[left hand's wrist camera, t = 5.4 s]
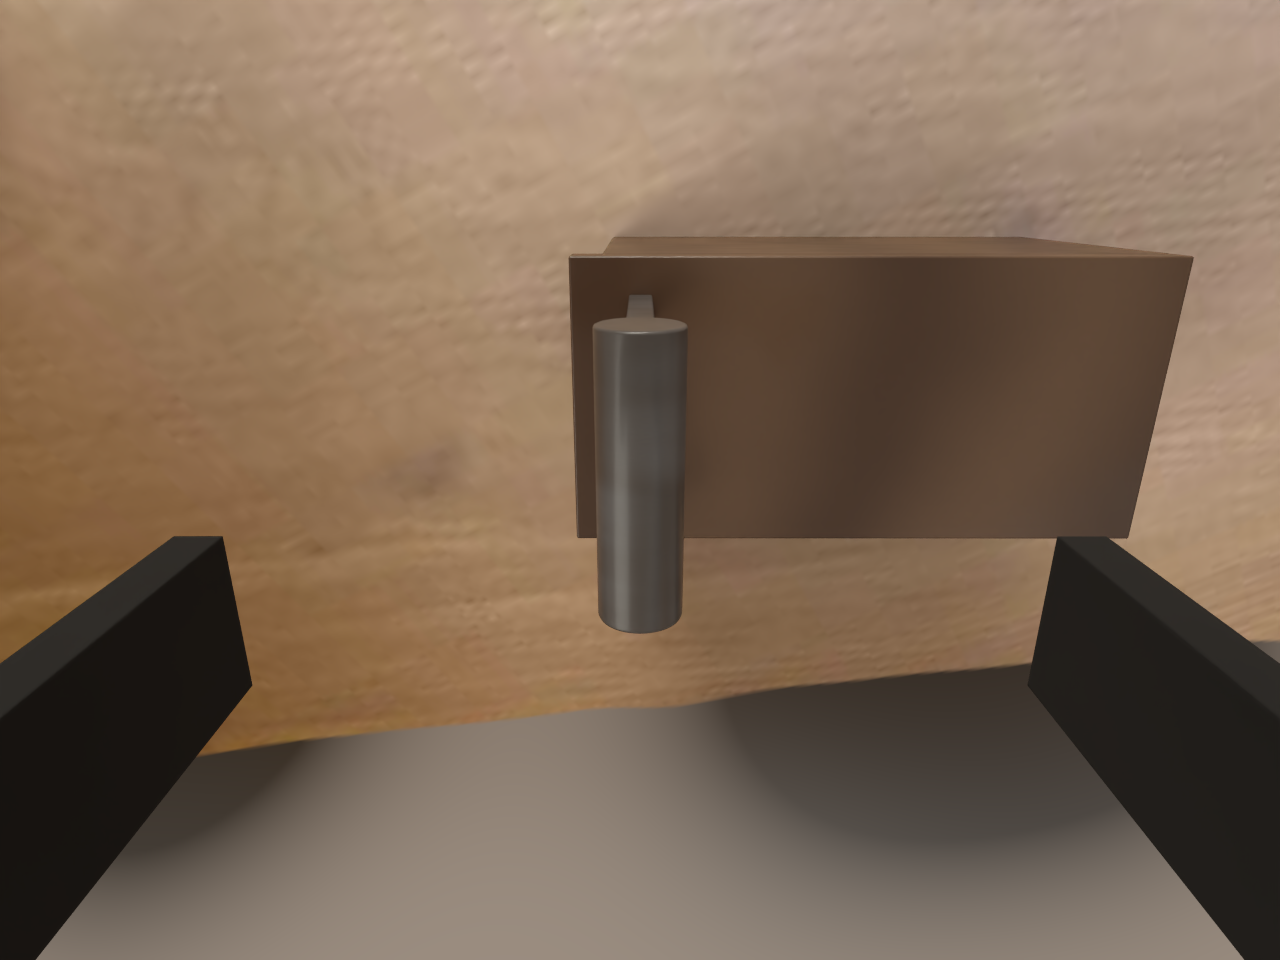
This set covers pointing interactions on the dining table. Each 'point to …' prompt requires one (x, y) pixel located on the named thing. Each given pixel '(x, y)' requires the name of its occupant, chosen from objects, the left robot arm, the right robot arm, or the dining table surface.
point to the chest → (854, 245)
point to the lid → (857, 401)
